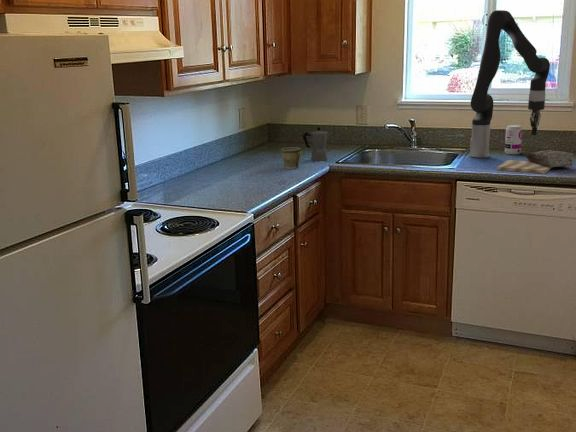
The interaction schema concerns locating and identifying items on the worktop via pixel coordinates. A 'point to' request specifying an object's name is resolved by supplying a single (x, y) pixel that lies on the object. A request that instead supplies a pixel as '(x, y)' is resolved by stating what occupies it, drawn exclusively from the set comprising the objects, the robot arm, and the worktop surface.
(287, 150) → the ceramic cup
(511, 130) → the supplement can
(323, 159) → the coffeepot
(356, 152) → the worktop surface
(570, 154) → the stone block
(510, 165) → the cutting board
